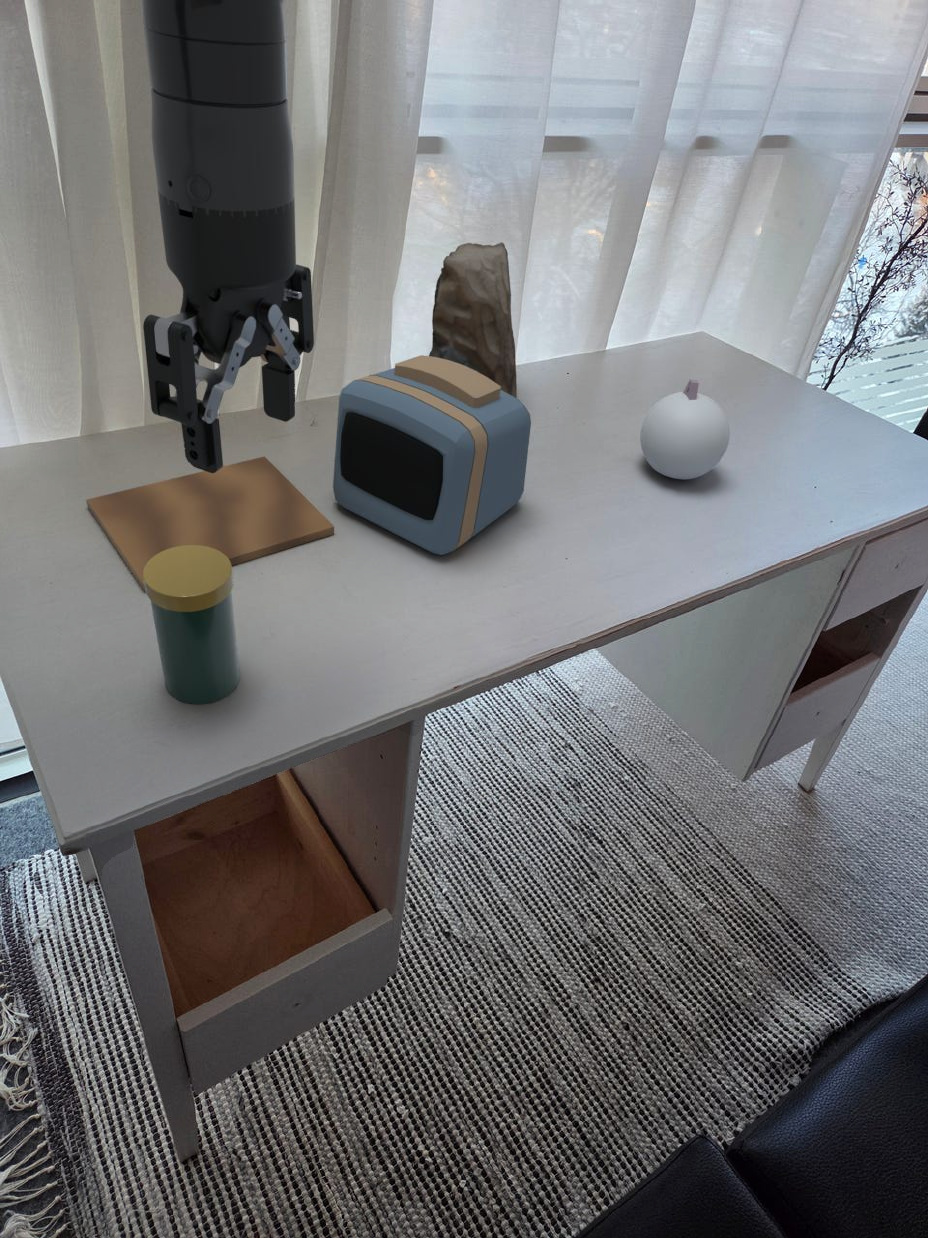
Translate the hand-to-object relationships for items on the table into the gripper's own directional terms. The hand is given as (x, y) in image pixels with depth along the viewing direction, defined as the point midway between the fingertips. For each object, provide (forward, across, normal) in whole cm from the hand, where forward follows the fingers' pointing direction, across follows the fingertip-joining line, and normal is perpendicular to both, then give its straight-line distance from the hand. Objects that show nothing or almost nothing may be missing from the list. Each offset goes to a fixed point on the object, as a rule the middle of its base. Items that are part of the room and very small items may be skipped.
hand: (244, 441), depth 58 cm
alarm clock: (+22, -31, +1) cm, 38 cm away
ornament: (+22, -55, +24) cm, 64 cm away
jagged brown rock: (+22, -54, -4) cm, 59 cm away
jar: (+22, +3, -3) cm, 22 cm away
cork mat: (+22, -16, -17) cm, 32 cm away
